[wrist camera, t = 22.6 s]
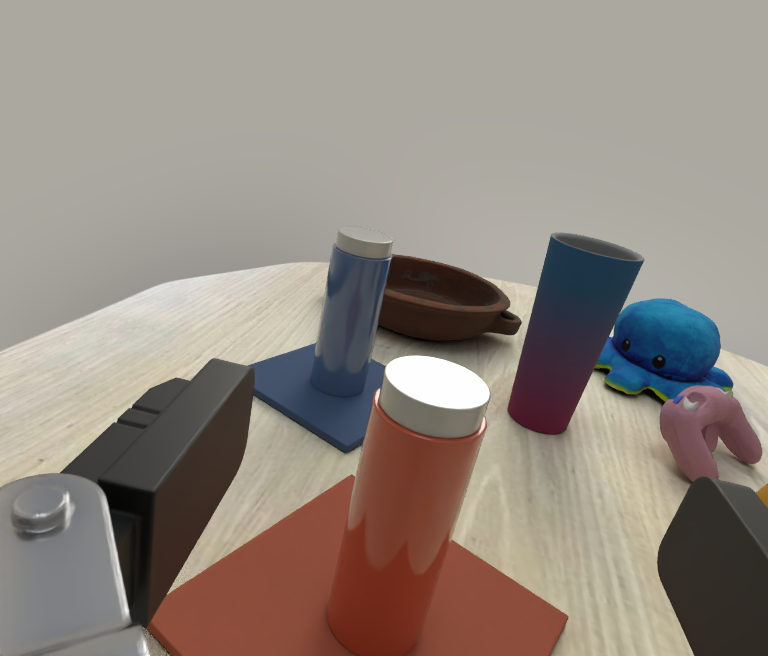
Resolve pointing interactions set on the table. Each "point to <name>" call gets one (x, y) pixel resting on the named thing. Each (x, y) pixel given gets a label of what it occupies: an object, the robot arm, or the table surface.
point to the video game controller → (706, 430)
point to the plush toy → (663, 350)
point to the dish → (443, 302)
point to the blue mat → (315, 397)
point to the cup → (569, 327)
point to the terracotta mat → (312, 589)
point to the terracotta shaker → (405, 502)
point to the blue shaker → (351, 310)
